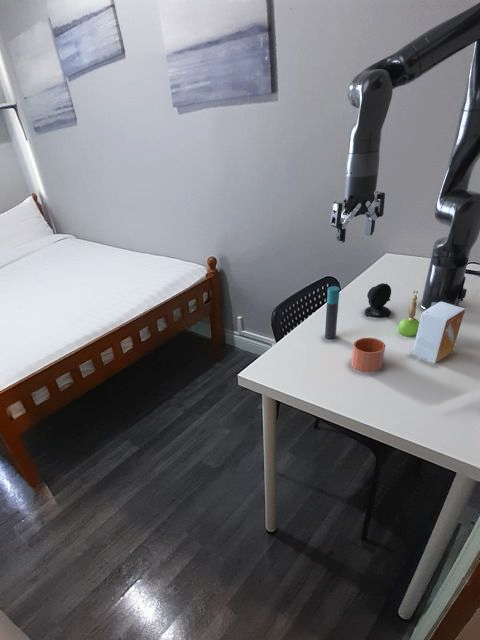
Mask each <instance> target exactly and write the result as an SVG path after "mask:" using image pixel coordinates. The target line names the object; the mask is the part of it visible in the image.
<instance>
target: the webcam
mask: <svg viewBox="0 0 480 640" xmlns="http://www.w3.org/2000/svg"><path fill="white" fill-rule="evenodd" d="M391 295H392V287H391V286H390V285H389V284H388V283H385V282H384V283H383V282H382V283H379V284H377V285H375V286H372V287H370V289H369V290H368V292H367V299H368V305H369V306H368V307H366V308H365V309H364V316H366V317H367V318H374V319H383V318H389V317H390V316H391V314H392V311H391V310H390V308H388V307H386V306H385V305H386V304H387V303H388V302H390V301H391ZM372 311H373V312H375V313H377V314H374V313H372Z"/></svg>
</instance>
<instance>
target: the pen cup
mask: <svg viewBox="0 0 480 640" xmlns="http://www.w3.org/2000/svg"><path fill="white" fill-rule="evenodd" d="M385 351H386V343H385V342H384V341H382V340H380V339H378V338H375V337H361V338H358V339H356V340H355V341H354V342H353V345H352V352H351V362H350V364H351V366H352V368H354V369H355V370H357V371H360V372H362V373H374V372H377V371H379V370H381V369H382V368H383V362H384V358H385Z"/></svg>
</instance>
